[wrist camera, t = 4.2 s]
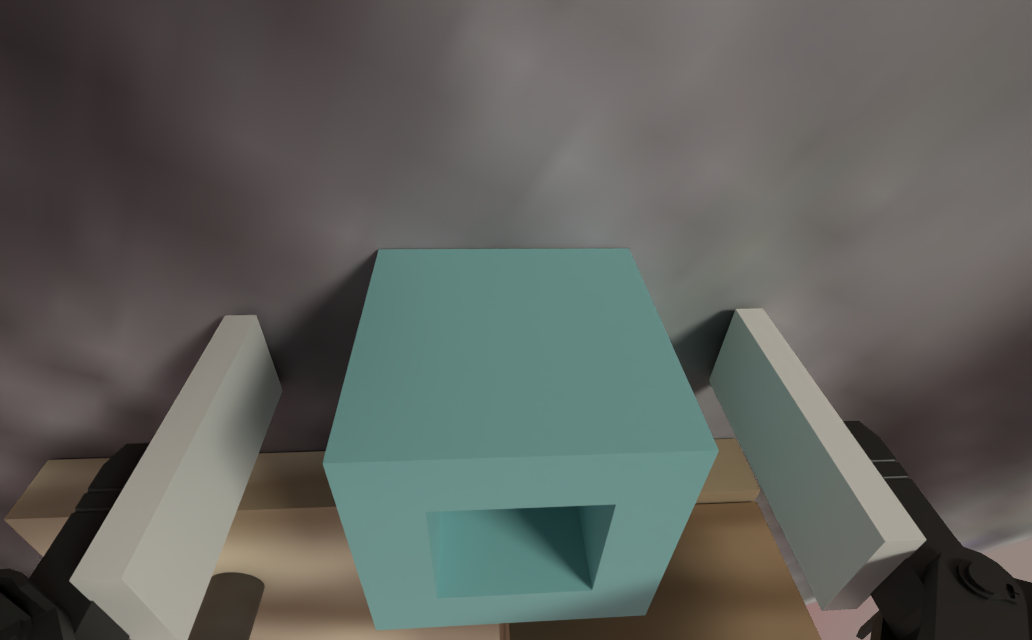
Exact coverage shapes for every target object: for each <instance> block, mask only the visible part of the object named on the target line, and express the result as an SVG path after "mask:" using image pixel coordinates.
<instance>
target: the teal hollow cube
mask: <svg viewBox="0 0 1032 640" xmlns="http://www.w3.org/2000/svg"><path fill="white" fill-rule="evenodd" d="M718 452H719V449H718V447H717V445H716V443H715V440H714V438H713V436H712V434H711V431H710V429H709V427H708V425H707V422H706V420H705V418H704V416H703V413H702V411H701V409H700V407H699V404H698V402H697V400H696V398H695V396H694V393H693V391H692V389H691V387H690V384H689V382H688V380H687V378H686V375H685V373H684V371H683V369H682V366H681V364H680V362H679V360H678V357H677V355H676V353H675V351H674V348H673V346H672V344H671V342H670V339H669V337H668V335H667V333H666V330H665V328H664V326H663V324H662V322H661V319H660V317H659V315H658V313H657V310H656V308H655V306H654V304H653V301H652V299H651V297H650V295H649V292H648V290H647V288H646V286H645V283H644V281H643V279H642V277H641V274H640V272H639V270H638V268H637V265H636V263H635V261H634V259H633V256H632V254H631V252H630V250H629V249H379V250H378V254H377V258H376V262H375V265H374V269H373V273H372V277H371V281H370V284H369V288H368V292H367V296H366V300H365V303H364V307H363V311H362V315H361V319H360V322H359V326H358V330H357V334H356V338H355V342H354V345H353V349H352V353H351V357H350V361H349V364H348V368H347V372H346V376H345V380H344V383H343V387H342V391H341V395H340V399H339V402H338V406H337V410H336V414H335V418H334V422H333V425H332V429H331V433H330V437H329V441H328V444H327V448H326V452H325V456H324V460H323V467H324V470H325V473H326V476H327V479H328V482H329V485H330V488H331V491H332V495H333V498H334V501H335V504H336V507H337V510H338V513H339V516H340V519H341V523H342V526H343V529H344V532H345V535H346V538H347V541H348V544H349V547H350V551H351V554H352V557H353V560H354V563H355V566H356V569H357V572H358V575H359V579H360V582H361V585H362V588H363V591H364V594H365V597H366V600H367V603H368V607H369V610H370V613H371V616H372V619H373V622H374V625H375V628H376V630H392V629H410V628H427V627H445V626H463V625H481V624H499V623H517V622H535V621H553V620H570V619H588V618H606V617H624V616H642V615H646V613H647V610H648V608H649V606H650V604H651V602H652V599H653V597H654V595H655V593H656V590H657V588H658V586H659V584H660V581H661V579H662V577H663V575H664V572H665V570H666V568H667V566H668V563H669V561H670V559H671V557H672V555H673V552H674V550H675V548H676V546H677V543H678V541H679V539H680V537H681V534H682V532H683V530H684V528H685V525H686V523H687V521H688V519H689V516H690V514H691V512H692V510H693V508H694V505H695V503H696V501H697V499H698V496H699V494H700V492H701V490H702V487H703V485H704V483H705V481H706V478H707V476H708V474H709V472H710V470H711V467H712V465H713V463H714V461H715V458H716V456H717V454H718Z"/></svg>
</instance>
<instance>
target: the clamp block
mask: <svg viewBox="0 0 1032 640" xmlns="http://www.w3.org/2000/svg"><path fill="white" fill-rule="evenodd" d="M499 633H500V640H821V637H820V635H819V633H818V631H817V629H816V627H815V625H814V623H813V620H812V618H811V616H810V614H809V612H808V610H807V608H806V606H805V603H804V601H803V599H802V597H801V595H800V593H799V591H798V589H797V586H796V584H795V582H794V580H793V578H792V576H791V574H790V572H789V569H788V567H787V565H786V563H785V561H784V559H783V557H782V555H781V552H780V550H779V548H778V546H777V544H776V542H775V540H774V538H773V535H772V533H771V531H770V529H769V527H768V525H767V523H766V521H765V518H764V516H763V514H762V512H761V510H760V508H759V506H758V504H757V502H748V503H723V504H699V505H694V508H693V510H692V512H691V514H690V516H689V519H688V521H687V523H686V525H685V528H684V530H683V532H682V534H681V537H680V539H679V541H678V543H677V546H676V548H675V550H674V552H673V555H672V557H671V559H670V561H669V563H668V566H667V568H666V570H665V572H664V575H663V577H662V579H661V581H660V584H659V586H658V588H657V590H656V593H655V595H654V597H653V599H652V602H651V604H650V606H649V608H648V610H647V613H646V615H642V616H624V617H606V618H588V619H570V620H553V621H535V622H517V623H499Z"/></svg>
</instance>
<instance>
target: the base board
mask: <svg viewBox="0 0 1032 640" xmlns="http://www.w3.org/2000/svg"><path fill="white" fill-rule="evenodd" d="M714 440H715V443H716V445H717V447H718V449H719V452H718V454H717V456H716V458H715V461H714V463H713V465H712V467H711V470H710V472H709V474H708V476H707V478H706V481H705V483H704V485H703V487H702V490H701V492H700V494H699V496H698V499H697V501H696V503H695V505H699V504H723V503H748V502H754V501H755V499H756V498H757V496H758V494H759V492H760V491H761V490H760V488H759V486H758V484H757V482H756V480H755V477H754V475H753V473H752V471H751V469H750V467H749V465H748V463H747V461H746V459H745V457H744V455H743V453H742V451H741V449H740V447H739V445H738V443H737V440H736V439H714ZM325 452H326V451H320V452H287V453H259V454H258V456H257V459H256V462H255V464H254V467H253V470H252V472H251V475H250V477H249V480H248V483H247V485H246V488H245V491H244V493H243V496H242V498H241V501H240V504H239V506H238V509H237V511H236V514H235V517H234V519H233V522H232V525H231V527H230V530H229V532H228V535H227V538H226V540H225V543H224V546H223V548H222V551H221V553H220V556H219V559H218V561H217V564H216V567H215V569H214V572H213V574H212V577H211V580H210V582H209V585H208V587H207V590H206V593H205V595H204V598H203V601H202V603H201V606H200V608H199V611H198V614H197V616H196V619H195V622H194V624H193V627H192V629H191V632H190V635H189V637H188V640H500V633H499V624H481V625H463V626H445V627H427V628H410V629H392V630H376V628H375V625H374V622H373V619H372V616H371V613H370V610H369V607H368V603H367V600H366V597H365V594H364V591H363V588H362V585H361V582H360V579H359V575H358V572H357V569H356V566H355V563H354V560H353V557H352V554H351V551H350V547H349V544H348V541H347V538H346V535H345V532H344V529H343V526H342V523H341V519H340V516H339V513H338V510H337V507H336V504H335V501H334V498H333V495H332V491H331V488H330V485H329V482H328V479H327V476H326V473H325V470H324V467H323V460H324V456H325ZM109 459H110V458H95V459H63V460H48V461H47V462H46V464H45V465H44V466H43V468H42V469H41V470H40V472H39V473H38V474H37V476H36V477H35V478H34V480H33V481H32V482H31V484H30V485H29V486H28V488H27V489H26V490H25V492H24V493H23V494H22V496H21V497H20V498H19V500H18V501H17V502H16V504H15V505H14V506H13V508H12V509H11V510H10V512H9V513H8V514H7V516H6V517H5V518H4V521H5V522H7V523H8V524H9V525H10V526H11V527H12V528H13V529H14V530H15V531H16V532H17V533H18V534H19V535H20V536H21V537H23V538H24V539H25V540H26V541H27V542H28V543H29V544H30V545H31V546H32V547H33V548H34V549H35V550H36V551H37V552H39V553H40V554H41V555H42V556H44V555H45V553H46V552H47V550H48V549H49V547H50V546H51V544H52V543H53V541H54V540H55V538H56V536H57V535H58V533H59V532H60V530H61V529H62V527H63V526H64V524H65V523H66V521H67V519H68V518H69V516H70V515H71V513H74V512H75V507H76V506H77V504H78V503H79V501H80V499H81V498H82V496H83V495H84V493H87V492H88V487H89V486H90V484H91V482H92V481H93V479H94V478H95V476H96V475H97V473H98V472H99V470H100V469H101V467H102V466H103V464H104V463H106V462H107V461H108V460H109Z"/></svg>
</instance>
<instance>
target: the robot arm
mask: <svg viewBox="0 0 1032 640" xmlns="http://www.w3.org/2000/svg"><path fill="white" fill-rule="evenodd" d="M709 382H710V384H711V386H712V388H713V390H714V392H715V394H716V396H717V398H718V400H719V402H720V404H721V406H722V409H723V411H724V413H725V415H726V417H727V419H728V421H729V423H730V425H731V427H732V429H733V431H734V433H735V435H736V437H737V439H738V441H739V443H740V445H741V447H742V449H743V451H744V453H745V455H746V457H747V459H748V461H749V463H750V466H751V468H752V470H753V472H754V474H755V476H756V478H757V480H758V482H759V484H760V486H761V488H762V490H763V492H764V494H765V496H766V498H767V500H768V502H769V504H770V506H771V508H772V510H773V512H774V514H775V516H776V518H777V520H778V523H779V525H780V527H781V529H782V531H783V533H784V535H785V537H786V539H787V541H788V543H789V545H790V547H791V549H792V551H793V553H794V555H795V557H796V559H797V561H798V563H799V565H800V567H801V569H802V571H803V573H804V575H805V577H806V580H807V582H808V584H809V586H810V588H811V590H812V592H813V594H814V596H815V598H816V600H817V602H818V604H819V606H820V608H821V610H822V611H824V610H842V609H857V608H858V607H859V606H860V605H861V604H862V603H863V602H864V601H865V600H866V599H867V598H868V597H869V596H870V595H871V596H872V598H873V600H874V601H875V603H876V605H877V607H878V608H879V611H878V612H877V613H876V614H875V615H874V616H872V617H871V619H869V620H868V621H867V622H866V623H865V624H864V625H863V626H862V627H861V628H860V629H859V631H858V634H857V637H858V638H860V639H864V638H865V637H866V636H867V635H868V634H869V633H870V632H871V631H872V632H871V639H870V640H1032V583H1031V582H1027V581H1023V580H1019V579H1015V578H1013V577H1012V576H1011V575H1010V574H1009V573H1008V572H1007V571H1006V570H1005V569H1003V568H1002V567H1001V566H1000V565H999V564H998V563H997V562H995V561H993V560H992V559H990V558H988V557H987V556H985V555H983V554H982V553H980V552H977V551H974V550H971V549H968V548H965V547H963V546H962V545H961V543H960V542H959V541H958V540H957V539H956V538H955V536H954V535H953V534H952V532H951V531H950V530H949V528H948V527H947V526H946V524H945V523H944V522H943V520H942V519H941V518H940V516H939V515H938V514H937V513H936V511H935V510H934V509H933V507H932V506H931V505H930V503H929V502H928V501H927V499H926V498H925V497H924V495H923V494H922V493H921V491H920V490H919V489H918V487H917V486H916V485H915V483H914V482H913V481H912V479H908V474H907V473H906V472H905V470H904V469H903V468H902V466H901V465H900V464H899V463H897V462H896V461H895V459H896V458H895V457H894V456H893V454H892V453H891V452H890V450H889V449H888V448H887V446H886V445H885V444H884V442H883V441H882V440H881V438H879V437H878V436H877V435H876V434H874V433H873V432H872V431H871V430H869V429H868V428H867V427H866V426H864V425H863V424H862V423H861V422H859V421H842V420H841V418H840V417H839V415H838V414H837V413H836V411H835V410H834V408H833V407H832V405H831V404H830V403H829V401H828V400H827V398H826V397H825V396H824V394H823V393H822V391H821V390H820V389H819V387H818V386H817V384H816V383H815V382H814V380H813V379H812V377H811V376H810V374H809V373H808V372H807V370H806V369H805V367H804V366H803V365H802V363H801V362H800V360H799V359H798V358H797V356H796V355H795V353H794V352H793V350H792V349H791V348H790V346H789V345H788V343H787V342H786V341H785V339H784V338H783V336H782V335H781V334H780V332H779V331H778V329H777V328H776V327H775V325H774V324H773V322H772V321H771V319H770V318H769V317H768V315H767V314H766V312H765V311H764V310H763V309H735V312H734V315H733V318H732V320H731V323H730V326H729V328H728V331H727V334H726V336H725V339H724V342H723V344H722V347H721V350H720V352H719V355H718V358H717V360H716V363H715V366H714V368H713V371H712V374H711V376H710V379H709ZM282 391H283V390H282V387H281V384H280V382H279V379H278V376H277V373H276V370H275V367H274V364H273V361H272V359H271V356H270V353H269V350H268V347H267V344H266V341H265V338H264V336H263V333H262V330H261V327H260V324H259V321H258V318H257V315H225V316H224V318H223V320H222V322H221V323H220V325H219V327H218V328H217V330H216V332H215V333H214V335H213V337H212V339H211V340H210V342H209V344H208V345H207V347H206V349H205V350H204V352H203V354H202V356H201V357H200V359H199V361H198V362H197V364H196V366H195V367H194V369H193V371H192V373H191V374H190V376H189V378H188V379H187V381H186V383H185V384H184V386H183V388H182V390H181V391H180V393H179V395H178V396H177V398H176V400H175V401H174V403H173V405H172V407H171V408H170V410H169V412H168V413H167V415H166V417H165V418H164V420H163V422H162V424H161V425H160V427H159V429H158V430H157V432H156V434H155V435H154V437H153V439H152V441H151V442H150V443H142V444H126V445H125V446H124V447H123V448H121V449H120V450H119V451H118V452H117V453H116V454H115V455H114V456H112V457H111V458H110V459H109V460H108V461H107V462H106V463H104V464H103V466H102V467H101V469H100V470H99V472H98V473H97V475H96V476H95V478H94V479H93V481H92V482H91V484H90V486H89V487H88V492H87V493H84V495H83V496H82V498H81V499H80V501H79V503H78V504H77V506H76V507H75V512H74V513H71V515H70V516H69V518H68V519H67V521H66V523H65V524H64V526H63V527H62V529H61V530H60V532H59V533H58V535H57V536H56V538H55V540H54V541H53V543H52V544H51V546H50V547H49V549H48V550H47V552H46V553H45V555H44V556H43V558H42V560H41V561H40V563H39V564H38V566H37V567H36V569H35V570H34V572H33V573H32V575H31V577H30V578H27V577H26V576H25V575H24V574H23V573H21V572H18V571H15V570H11V569H1V570H0V640H128V639H129V638H130V639H131V640H188V637H189V635H190V632H191V629H192V627H193V624H194V622H195V619H196V616H197V614H198V611H199V608H200V606H201V603H202V601H203V598H204V595H205V593H206V590H207V587H208V585H209V582H210V580H211V577H212V574H213V572H214V569H215V567H216V564H217V561H218V559H219V556H220V553H221V551H222V548H223V546H224V543H225V540H226V538H227V535H228V532H229V530H230V527H231V525H232V522H233V519H234V517H235V514H236V511H237V509H238V506H239V504H240V501H241V498H242V496H243V493H244V491H245V488H246V485H247V483H248V480H249V477H250V475H251V472H252V470H253V467H254V464H255V462H256V459H257V456H258V454H259V451H260V449H261V446H262V443H263V441H264V438H265V435H266V433H267V430H268V428H269V425H270V422H271V420H272V417H273V415H274V412H275V409H276V407H277V404H278V401H279V399H280V396H281V394H282Z"/></svg>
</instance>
